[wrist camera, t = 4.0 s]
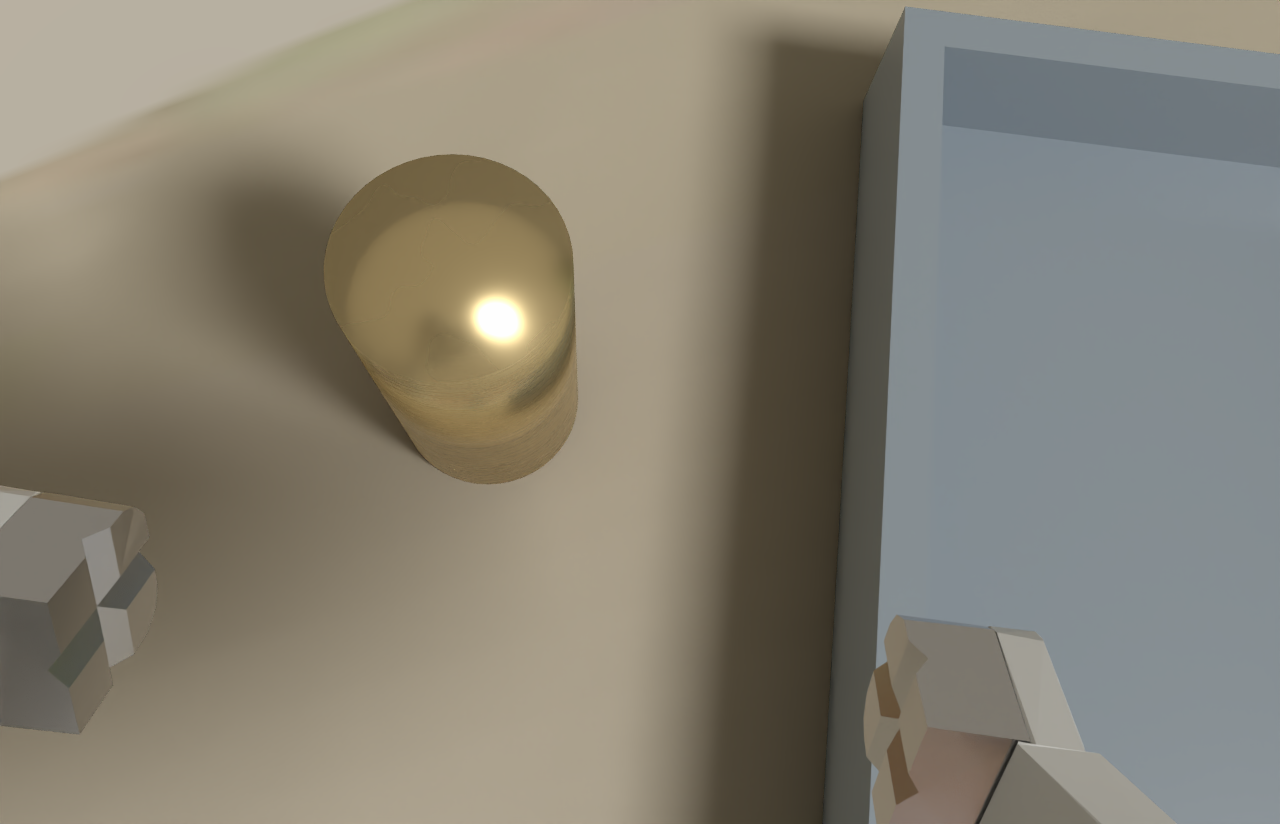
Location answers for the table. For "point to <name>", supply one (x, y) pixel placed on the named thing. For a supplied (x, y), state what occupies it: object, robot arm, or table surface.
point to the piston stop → (461, 311)
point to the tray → (1072, 391)
